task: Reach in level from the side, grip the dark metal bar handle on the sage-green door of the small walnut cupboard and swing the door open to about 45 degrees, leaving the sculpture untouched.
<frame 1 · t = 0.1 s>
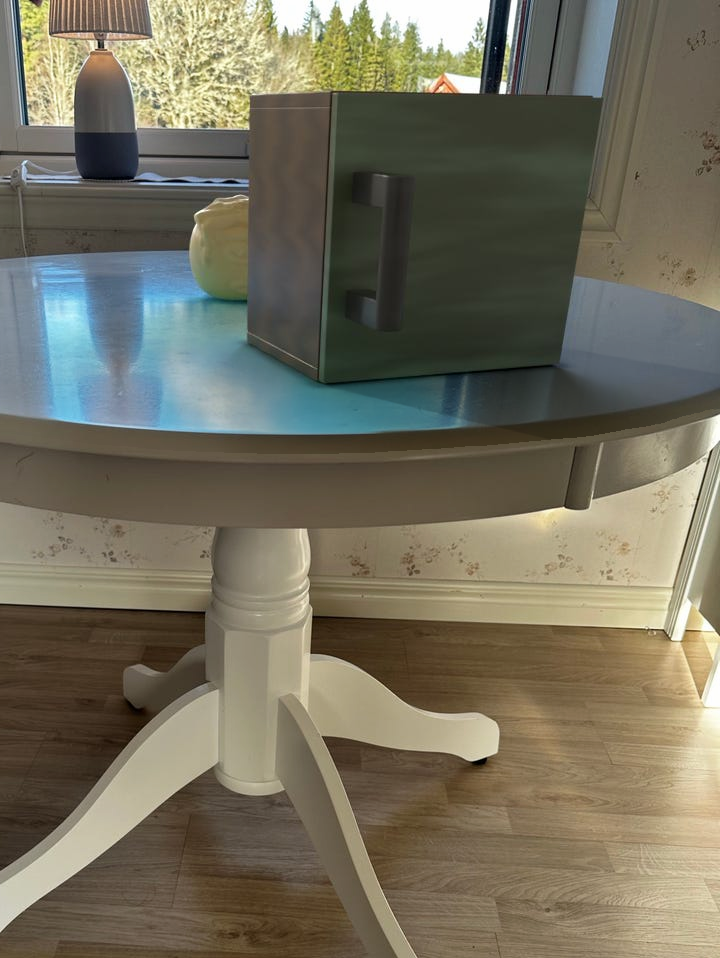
cupboard door: (479, 247, 71), point 10 cm above the table, hinge at 0.0°
cupboard: (392, 352, 85), on the table
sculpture: (239, 298, 111), on the table
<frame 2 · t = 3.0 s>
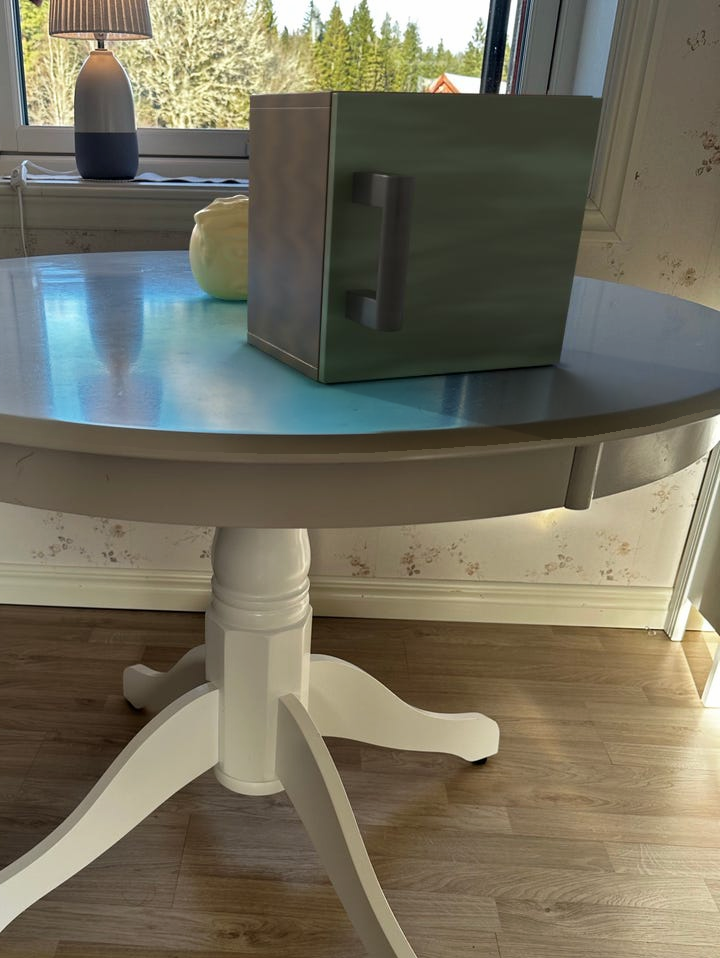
nothing on the table moved.
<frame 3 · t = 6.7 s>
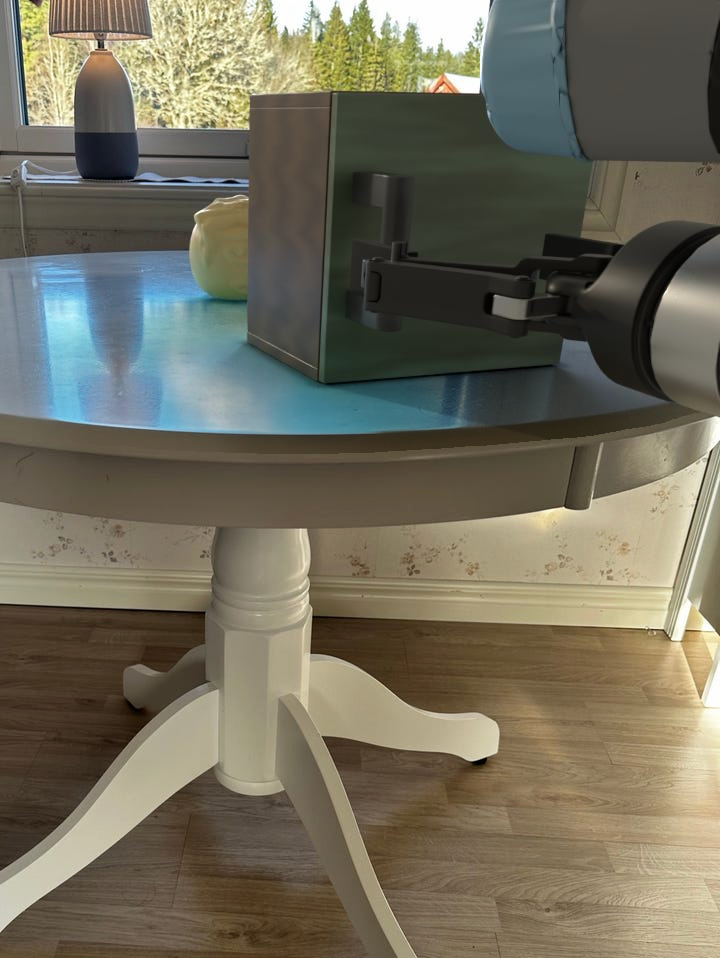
hand: (454, 259, 59), 11 cm above the table, tool horizontal, fingers open, 13 cm apart
nothing on the table moved.
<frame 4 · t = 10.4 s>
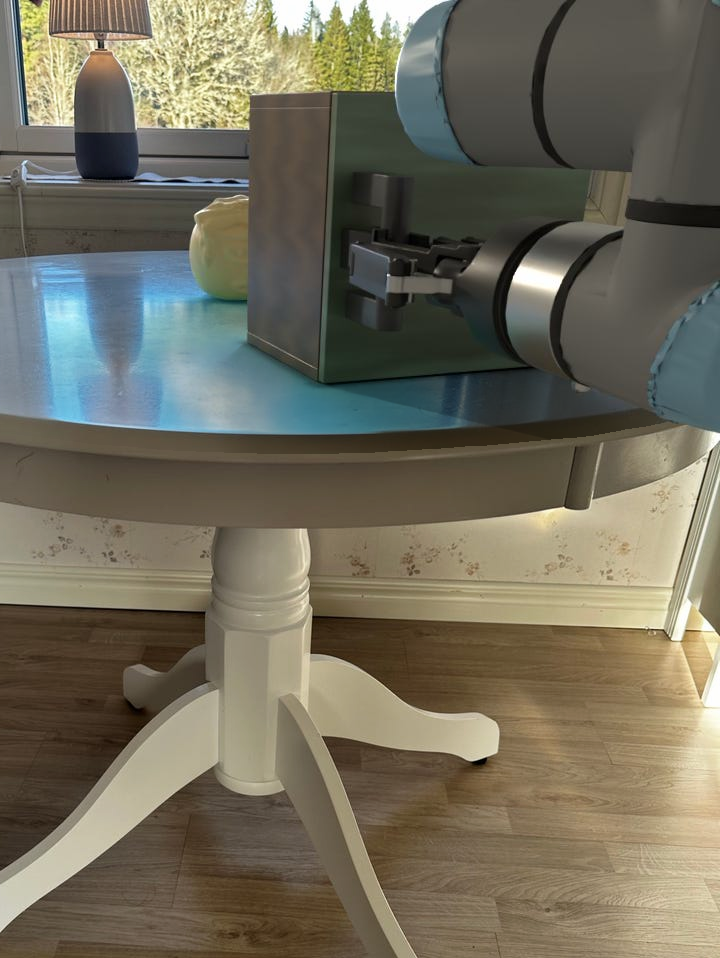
hand: (362, 247, 70), 10 cm above the table, tool horizontal, fingers closed on cupboard door, 2 cm apart
cupboard door: (479, 247, 71), point 10 cm above the table, hinge at -0.1°, touching gripper
everything else where it was.
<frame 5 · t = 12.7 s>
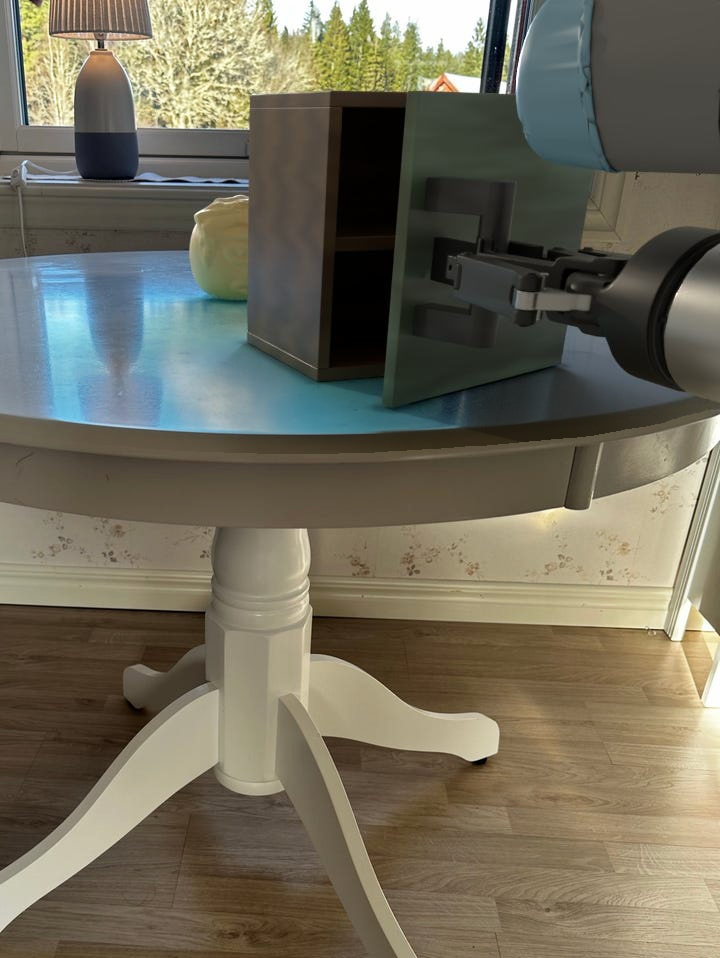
hand: (458, 257, 65), 10 cm above the table, tool horizontal, fingers open, 3 cm apart
cupboard door: (531, 252, 68), point 10 cm above the table, hinge at 21.6°, touching gripper
everything else where it was.
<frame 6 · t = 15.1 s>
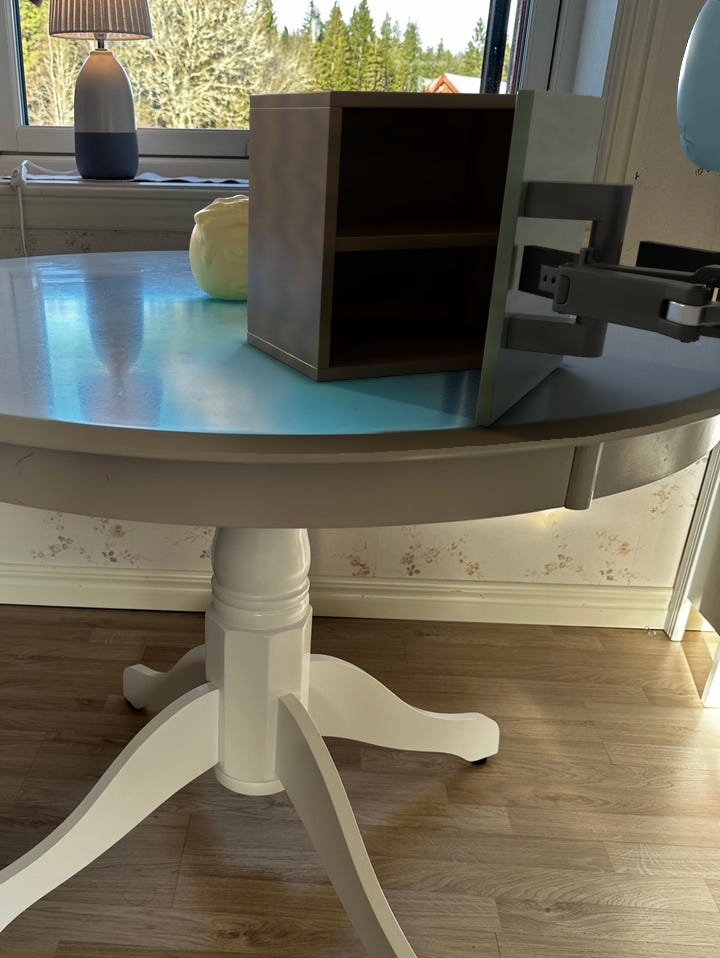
hand: (584, 265, 62), 10 cm above the table, tool horizontal, fingers open, 8 cm apart
cupboard door: (587, 255, 67), point 10 cm above the table, hinge at 41.0°
everything else where it was.
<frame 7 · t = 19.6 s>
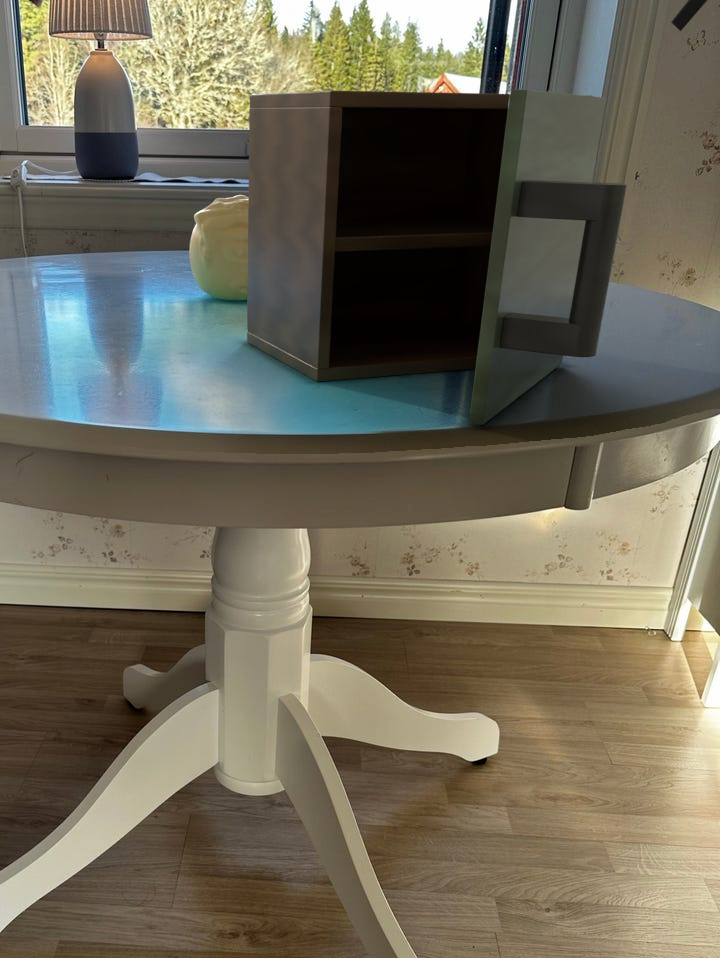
cupboard door: (583, 255, 67), point 10 cm above the table, hinge at 39.9°
everything else where it was.
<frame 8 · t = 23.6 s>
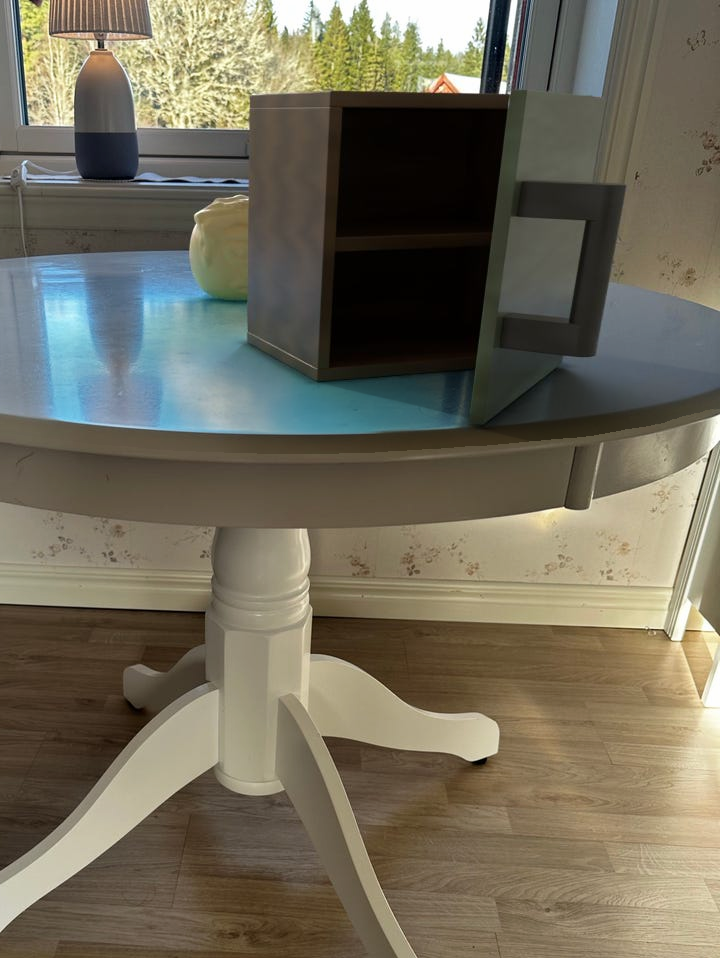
nothing on the table moved.
at the end: cupboard door at +40° (first picture: +0°); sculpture moved 0.2 cm from its start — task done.
